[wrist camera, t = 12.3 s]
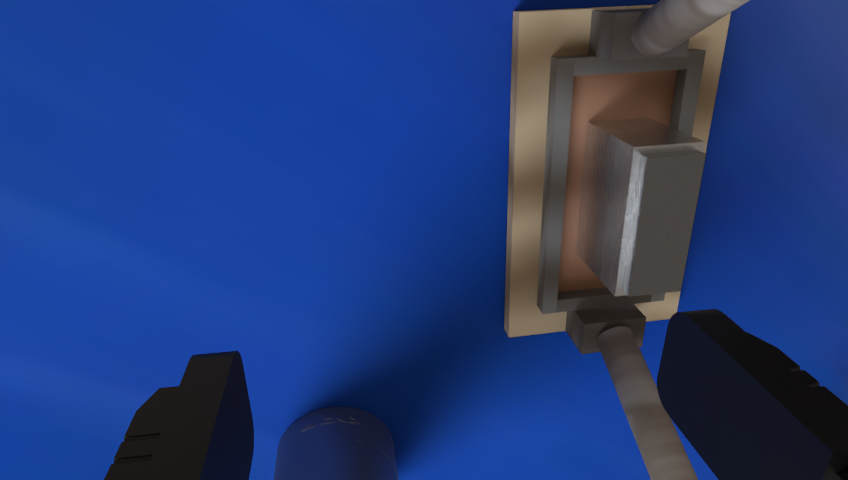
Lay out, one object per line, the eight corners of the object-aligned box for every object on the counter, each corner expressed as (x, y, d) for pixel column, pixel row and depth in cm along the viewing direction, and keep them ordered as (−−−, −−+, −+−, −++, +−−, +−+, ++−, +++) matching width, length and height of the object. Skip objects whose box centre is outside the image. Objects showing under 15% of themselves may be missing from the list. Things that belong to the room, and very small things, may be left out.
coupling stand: (659, 356, 45) (794, 510, 32) (502, 375, 43) (575, 546, 30) (734, -82, 32) (1015, -130, 19) (515, -76, 30) (652, -124, 17)
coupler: (648, 117, 35) (714, 145, 29) (630, 247, 39) (686, 296, 32) (587, 121, 34) (641, 151, 28) (575, 252, 38) (621, 303, 32)
